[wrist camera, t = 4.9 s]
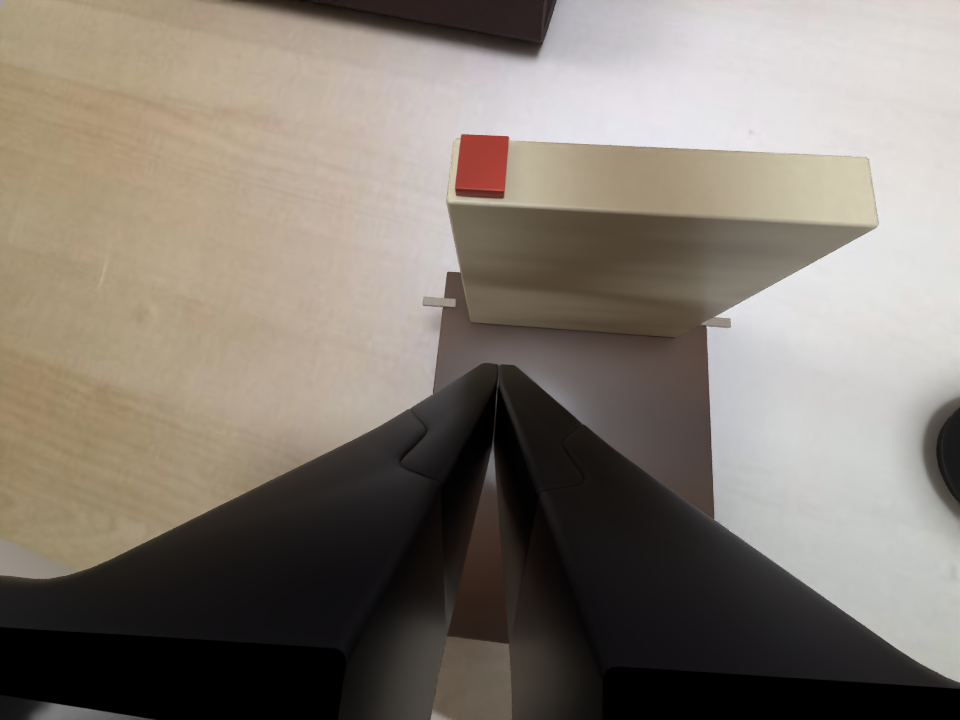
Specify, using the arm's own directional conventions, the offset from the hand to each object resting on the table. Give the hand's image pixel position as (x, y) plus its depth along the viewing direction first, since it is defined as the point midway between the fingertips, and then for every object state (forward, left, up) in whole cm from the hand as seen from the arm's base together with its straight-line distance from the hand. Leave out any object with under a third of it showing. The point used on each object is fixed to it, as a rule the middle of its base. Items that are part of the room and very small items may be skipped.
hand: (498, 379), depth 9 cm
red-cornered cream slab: (+2, -5, -6) cm, 7 cm away
